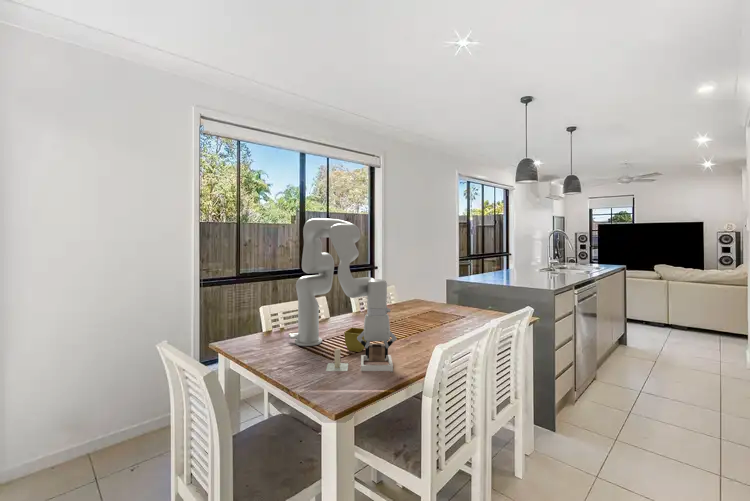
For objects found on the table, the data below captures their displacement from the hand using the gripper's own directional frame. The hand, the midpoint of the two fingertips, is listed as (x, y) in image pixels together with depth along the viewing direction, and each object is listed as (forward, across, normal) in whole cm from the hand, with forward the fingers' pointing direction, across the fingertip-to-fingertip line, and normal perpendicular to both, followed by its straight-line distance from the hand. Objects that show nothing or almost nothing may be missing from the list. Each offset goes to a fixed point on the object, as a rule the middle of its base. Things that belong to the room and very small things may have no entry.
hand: (376, 357), depth 141 cm
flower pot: (+4, +8, -19) cm, 21 cm away
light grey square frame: (+4, 0, 0) cm, 4 cm away
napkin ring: (+1, 0, 0) cm, 1 cm away
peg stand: (+4, +15, +2) cm, 16 cm away
